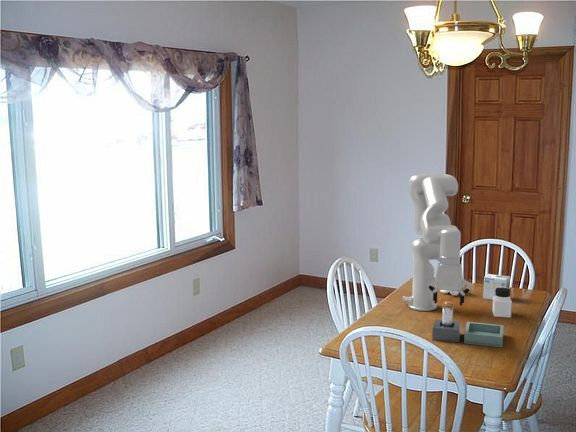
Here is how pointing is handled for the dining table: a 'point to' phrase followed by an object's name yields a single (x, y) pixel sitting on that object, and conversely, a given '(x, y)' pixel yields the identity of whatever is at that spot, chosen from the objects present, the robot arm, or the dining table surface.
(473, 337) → the tray
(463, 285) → the white irregular lump
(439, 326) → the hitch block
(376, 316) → the dining table surface
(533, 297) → the dining table surface
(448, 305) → the pin
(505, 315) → the medicine bottle
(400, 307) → the dining table surface
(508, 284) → the light bulb box
